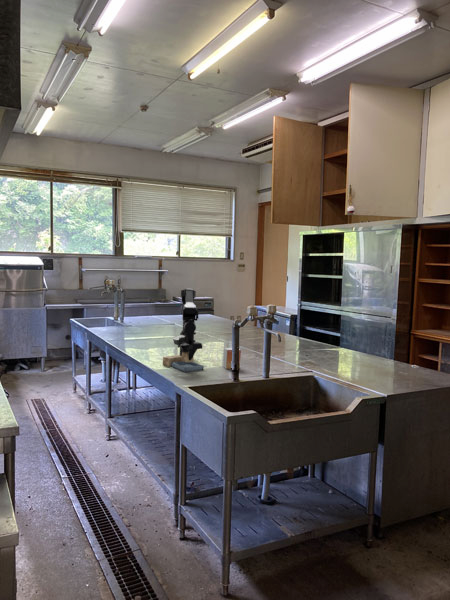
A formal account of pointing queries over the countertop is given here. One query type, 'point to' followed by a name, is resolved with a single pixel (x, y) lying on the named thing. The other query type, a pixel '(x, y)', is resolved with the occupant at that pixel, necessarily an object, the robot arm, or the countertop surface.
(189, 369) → the tray
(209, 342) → the countertop surface
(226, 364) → the small box
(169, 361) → the oak cube
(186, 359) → the oak cube
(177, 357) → the oak cube
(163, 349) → the countertop surface
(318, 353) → the countertop surface
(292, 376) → the countertop surface
